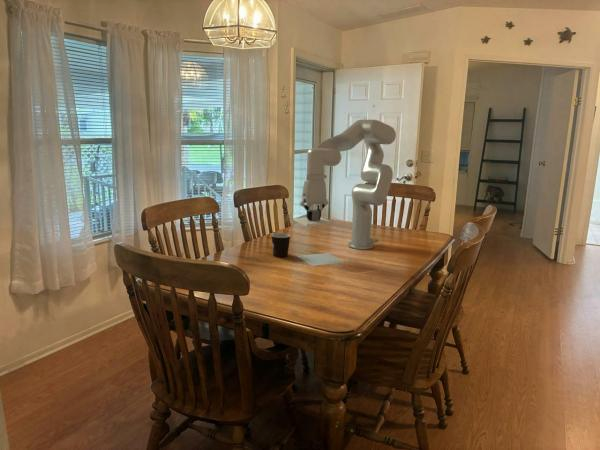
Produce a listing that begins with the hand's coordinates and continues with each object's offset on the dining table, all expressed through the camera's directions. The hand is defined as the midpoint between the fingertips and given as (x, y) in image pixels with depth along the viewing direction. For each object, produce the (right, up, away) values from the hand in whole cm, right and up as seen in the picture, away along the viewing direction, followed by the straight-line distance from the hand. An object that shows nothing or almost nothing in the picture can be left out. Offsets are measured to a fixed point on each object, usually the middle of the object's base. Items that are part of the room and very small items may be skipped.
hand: (313, 219), depth 196 cm
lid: (0, -1, 0) cm, 1 cm away
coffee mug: (-15, -17, +8) cm, 24 cm away
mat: (+3, -18, +3) cm, 19 cm away
